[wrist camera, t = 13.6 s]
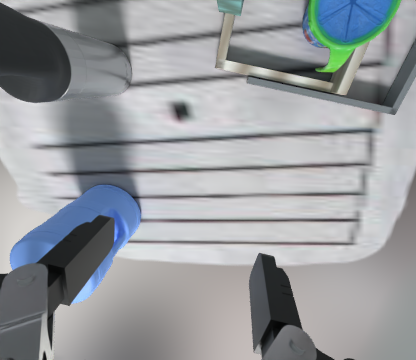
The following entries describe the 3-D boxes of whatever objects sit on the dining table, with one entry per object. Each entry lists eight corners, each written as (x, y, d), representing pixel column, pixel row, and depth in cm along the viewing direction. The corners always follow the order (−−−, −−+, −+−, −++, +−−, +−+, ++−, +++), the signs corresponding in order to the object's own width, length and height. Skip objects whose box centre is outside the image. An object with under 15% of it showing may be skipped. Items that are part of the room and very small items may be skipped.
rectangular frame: (246, 83, 41) (247, 83, 38) (287, -81, 32) (292, -96, 29) (384, 112, 40) (394, 114, 37) (466, -46, 31) (489, -58, 28)
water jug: (81, 222, 59) (-34, 326, 34) (87, 173, 53) (-49, 257, 27) (135, 242, 60) (61, 358, 35) (148, 196, 54) (69, 298, 28)
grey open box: (210, 67, 40) (198, 59, 27) (236, -79, 32) (237, -193, 19) (333, 93, 40) (382, 98, 26) (392, -49, 31) (505, -144, 18)
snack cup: (308, -46, 33) (337, -97, 24) (380, -38, 32) (438, -86, 23) (280, 69, 39) (294, 64, 30) (339, 77, 39) (371, 75, 29)
